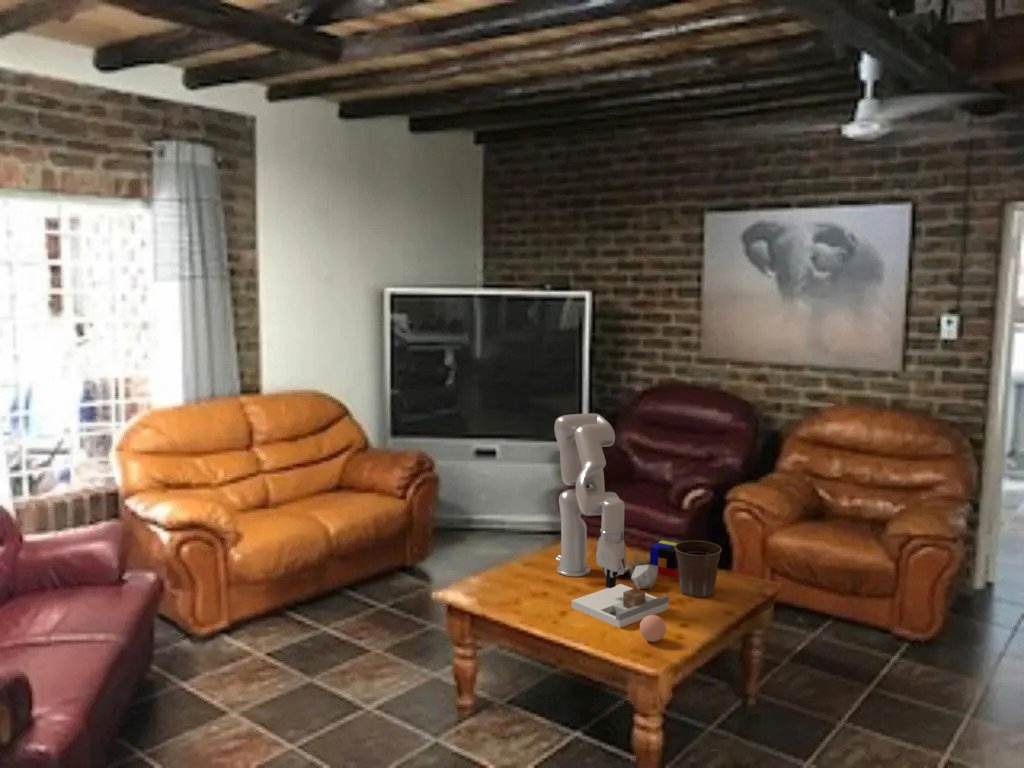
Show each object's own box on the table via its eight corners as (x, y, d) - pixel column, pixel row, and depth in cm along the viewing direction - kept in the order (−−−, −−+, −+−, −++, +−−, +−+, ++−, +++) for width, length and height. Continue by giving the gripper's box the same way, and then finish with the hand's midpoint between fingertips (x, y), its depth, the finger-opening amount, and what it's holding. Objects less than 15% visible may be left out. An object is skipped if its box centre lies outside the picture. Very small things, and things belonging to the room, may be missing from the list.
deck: (571, 607, 288) (571, 594, 287) (620, 590, 303) (620, 578, 302) (619, 628, 271) (619, 614, 270) (668, 609, 286) (668, 596, 285)
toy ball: (661, 634, 266) (661, 610, 265) (669, 645, 258) (669, 620, 257) (636, 636, 265) (636, 612, 264) (643, 647, 257) (644, 622, 256)
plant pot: (691, 603, 291) (692, 557, 289) (664, 587, 306) (665, 543, 304) (730, 595, 298) (731, 551, 296) (701, 580, 312) (702, 538, 310)
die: (626, 588, 307) (633, 573, 300) (633, 570, 313) (640, 555, 306) (647, 598, 305) (654, 583, 299) (654, 580, 311) (661, 565, 305)
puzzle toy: (649, 572, 321) (650, 547, 320) (661, 565, 329) (661, 540, 328) (674, 578, 315) (675, 552, 314) (685, 570, 323) (686, 544, 322)
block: (623, 606, 282) (623, 592, 281) (633, 602, 285) (633, 588, 284) (634, 611, 278) (634, 596, 277) (644, 607, 281) (645, 592, 280)
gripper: (588, 531, 290) (587, 582, 293) (621, 543, 279) (619, 596, 282) (604, 527, 295) (602, 577, 298) (636, 539, 284) (634, 591, 287)
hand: (610, 586), depth 290 cm, fingers closed
